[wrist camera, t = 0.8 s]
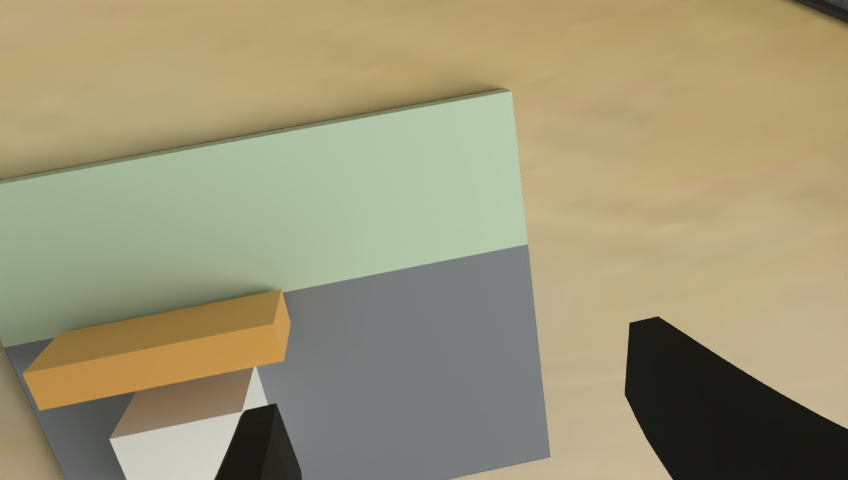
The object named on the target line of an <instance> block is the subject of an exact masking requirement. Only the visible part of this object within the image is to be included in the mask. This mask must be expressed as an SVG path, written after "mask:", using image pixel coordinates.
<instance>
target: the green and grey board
mask: <svg viewBox="0 0 848 480" xmlns="http://www.w3.org/2000/svg"><path fill="white" fill-rule="evenodd" d="M281 289H282V293H283V296H284V300H285V304H286V307H287V311H288V315H289V319H290V322H291V325H290V331H289V336H288V342H287V347H286V353H285V358H284V361H281V362H276V363H271V364H266V365H261V366H256V368H257V371H258V374H259V378H260V381H261V384H262V387H263V391H264V394H265V397H266V401H267V404H268V405H270V404H274V403H277V406H278V409H279V411H280V414H281V417H282V420H283V422H284V425H285V428H286V430H287V433H288V436H289V439H290V441H291V444H292V447H293V450H294V452H295V455H296V458H297V460H298V463H299V466H300V469H301V473H302V480H448V479H453V478H457V477H462V476H467V475H471V474H476V473H480V472H485V471H489V470H494V469H499V468H503V467H508V466H512V465H517V464H521V463H526V462H531V461H535V460H540V459H544V458H549V457H550V450H549V440H548V431H547V421H546V412H545V402H544V393H543V384H542V374H541V365H540V355H539V346H538V336H537V327H536V318H535V308H534V299H533V289H532V280H531V270H530V261H529V252H528V242H527V233H526V223H525V214H524V204H523V195H522V186H521V176H520V167H519V157H518V148H517V138H516V129H515V120H514V110H513V101H512V91H510V90H508V89H499V90H494V91H488V92H483V93H477V94H472V95H466V96H461V97H455V98H450V99H444V100H439V101H433V102H428V103H422V104H417V105H411V106H406V107H400V108H395V109H389V110H384V111H378V112H373V113H367V114H361V115H356V116H350V117H345V118H339V119H334V120H328V121H323V122H317V123H312V124H306V125H301V126H295V127H290V128H284V129H279V130H273V131H268V132H262V133H257V134H251V135H246V136H240V137H235V138H229V139H224V140H218V141H213V142H207V143H202V144H196V145H191V146H185V147H180V148H174V149H169V150H163V151H158V152H152V153H147V154H141V155H136V156H130V157H125V158H119V159H114V160H108V161H103V162H97V163H92V164H86V165H81V166H75V167H70V168H64V169H59V170H53V171H48V172H42V173H37V174H31V175H26V176H20V177H15V178H9V179H4V180H0V341H1V343H2V345H3V347H4V349H5V351H6V353H7V356H8V358H9V360H10V362H11V364H12V366H13V368H14V370H15V372H16V375H17V377H18V379H19V381H20V383H21V385H22V387H23V389H24V391H25V394H26V396H27V398H28V400H29V402H30V404H31V406H32V408H33V410H34V413H35V415H36V417H37V419H38V421H39V423H40V425H41V427H42V429H43V431H44V434H45V436H46V438H47V440H48V442H49V444H50V446H51V448H52V450H53V453H54V455H55V457H56V459H57V461H58V463H59V465H60V467H61V469H62V472H63V474H64V476H65V478H66V480H127V479H126V477H125V475H124V472H123V470H122V468H121V465H120V463H119V461H118V458H117V456H116V454H115V451H114V449H113V447H112V444H111V442H110V440H109V439H110V437H111V435H112V433H113V432H114V430H115V428H116V426H117V425H118V423H119V421H120V419H121V418H122V416H123V414H124V412H125V410H126V409H127V407H128V405H129V403H130V402H131V400H132V398H133V396H134V394H135V393H136V391H134V392H129V393H124V394H119V395H114V396H109V397H104V398H99V399H94V400H89V401H85V402H80V403H75V404H70V405H65V406H60V407H55V408H50V409H45V410H40V411H39V408H38V406H37V404H36V402H35V400H34V398H33V396H32V394H31V391H30V389H29V387H28V385H27V383H26V381H25V379H24V376H23V372H24V371H25V370H26V369H27V368H28V367H29V366H30V365H31V364H32V363H33V362H34V360H35V359H36V358H37V357H38V356H39V355H40V354H41V353H42V352H43V351H44V349H45V348H46V347H47V346H48V345H49V344H50V343H51V342H52V341H53V340H54V339H55V337H56V336H57V335H58V334H59V333H62V332H68V331H73V330H78V329H83V328H88V327H93V326H98V325H103V324H108V323H113V322H118V321H123V320H129V319H134V318H139V317H144V316H149V315H154V314H159V313H164V312H169V311H174V310H179V309H184V308H189V307H195V306H200V305H205V304H210V303H215V302H220V301H225V300H230V299H235V298H240V297H245V296H250V295H256V294H261V293H266V292H271V291H276V290H281Z"/></svg>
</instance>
